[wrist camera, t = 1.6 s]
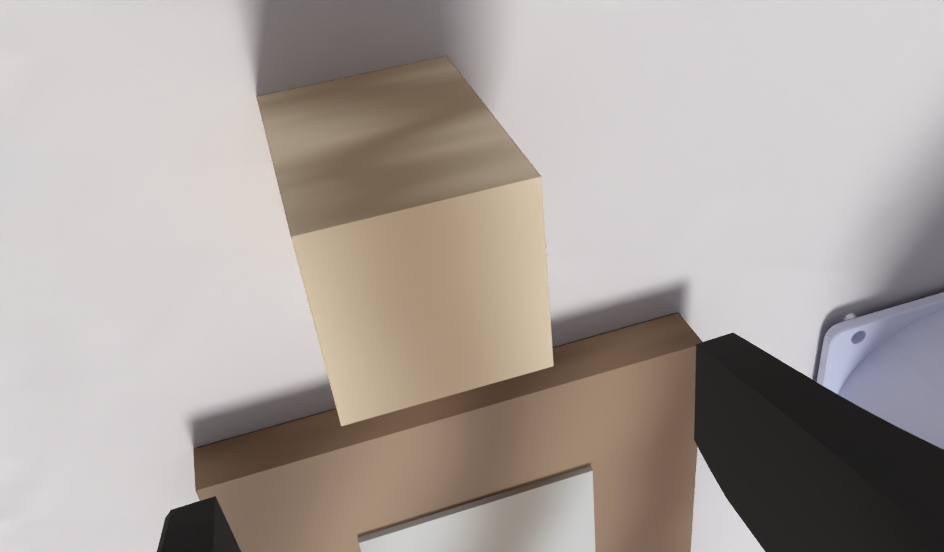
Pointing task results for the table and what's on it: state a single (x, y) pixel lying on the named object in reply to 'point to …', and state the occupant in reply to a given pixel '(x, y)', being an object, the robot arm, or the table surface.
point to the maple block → (411, 235)
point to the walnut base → (485, 462)
